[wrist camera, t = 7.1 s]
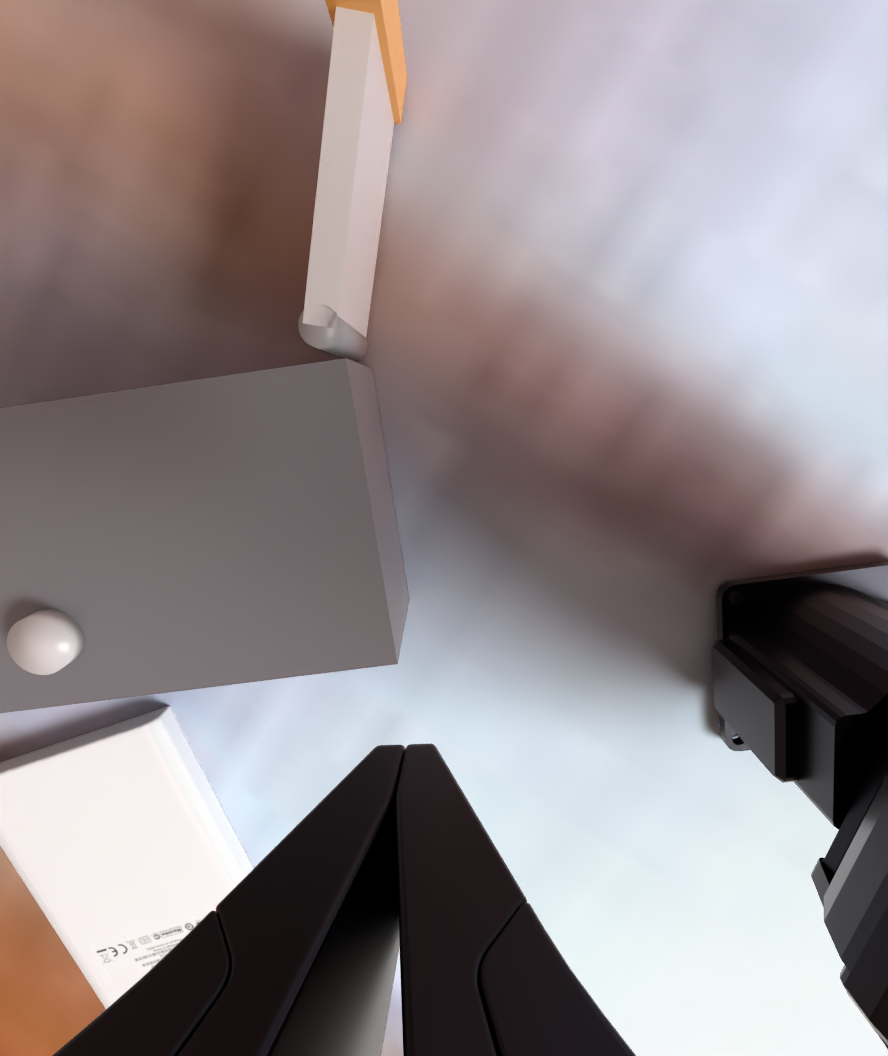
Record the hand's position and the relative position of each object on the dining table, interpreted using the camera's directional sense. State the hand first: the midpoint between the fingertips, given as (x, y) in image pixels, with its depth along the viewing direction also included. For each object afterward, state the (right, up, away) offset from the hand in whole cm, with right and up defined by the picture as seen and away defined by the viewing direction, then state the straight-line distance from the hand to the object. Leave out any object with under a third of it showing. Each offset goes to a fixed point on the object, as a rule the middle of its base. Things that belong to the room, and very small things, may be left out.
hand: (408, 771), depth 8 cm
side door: (-2, +13, +9) cm, 16 cm away
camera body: (-7, +4, +11) cm, 14 cm away
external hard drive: (-12, -10, +15) cm, 22 cm away
